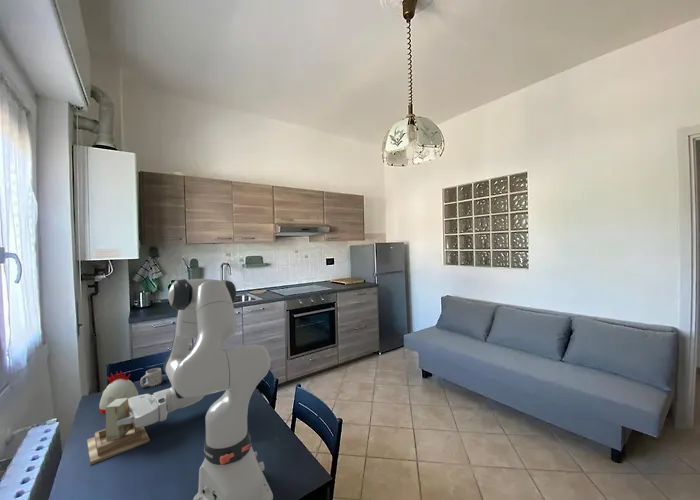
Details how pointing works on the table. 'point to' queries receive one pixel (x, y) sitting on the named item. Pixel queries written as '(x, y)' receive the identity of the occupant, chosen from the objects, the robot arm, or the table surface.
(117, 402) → the skincare box
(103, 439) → the oak stand
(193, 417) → the table surface
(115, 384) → the kitchen timer
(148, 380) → the mug
